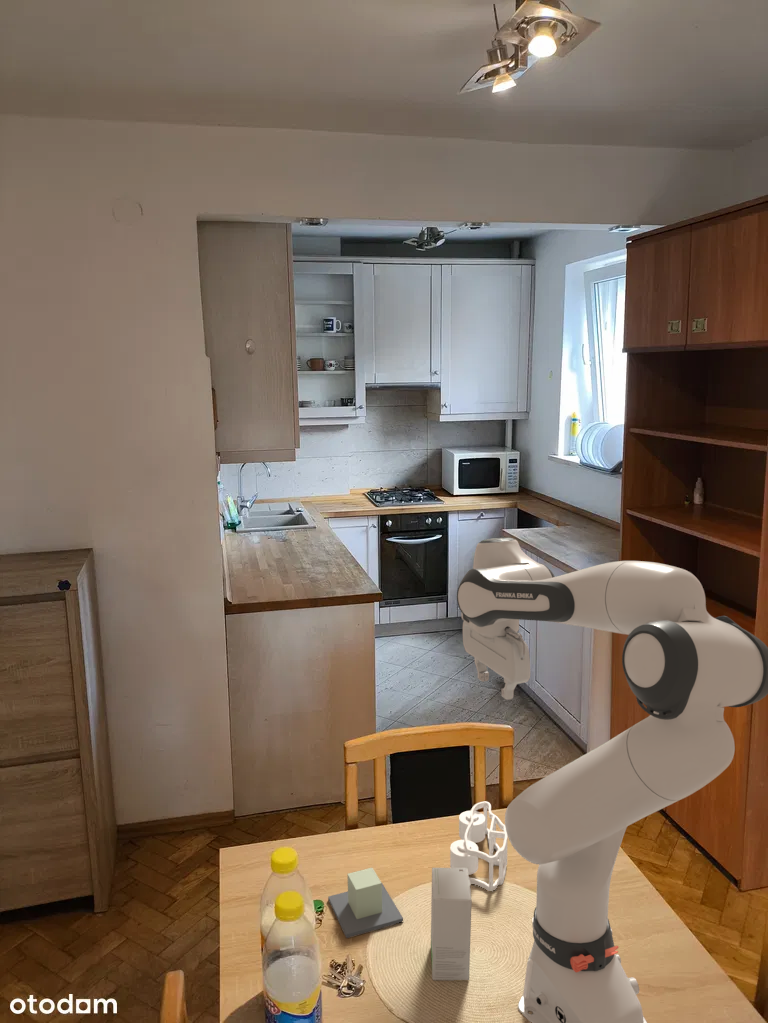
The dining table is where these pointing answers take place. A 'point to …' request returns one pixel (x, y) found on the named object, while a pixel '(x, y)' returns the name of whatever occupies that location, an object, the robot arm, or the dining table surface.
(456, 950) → the skincare box
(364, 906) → the sage block
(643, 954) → the dining table surface
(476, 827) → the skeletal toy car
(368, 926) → the slate mat
